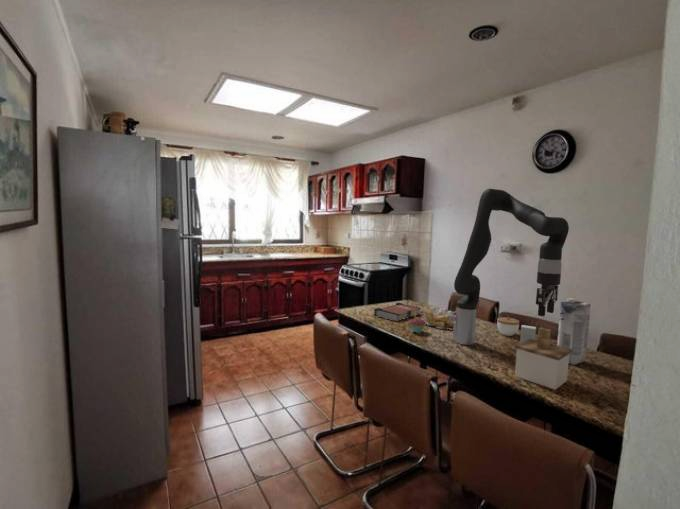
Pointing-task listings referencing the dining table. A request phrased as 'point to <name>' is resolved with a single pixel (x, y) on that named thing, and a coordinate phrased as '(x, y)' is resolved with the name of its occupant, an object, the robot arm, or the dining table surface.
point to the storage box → (541, 369)
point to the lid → (544, 346)
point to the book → (396, 311)
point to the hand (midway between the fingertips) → (545, 314)
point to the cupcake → (417, 324)
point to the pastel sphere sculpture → (441, 319)
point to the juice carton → (574, 329)
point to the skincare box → (527, 333)
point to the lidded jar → (507, 326)
